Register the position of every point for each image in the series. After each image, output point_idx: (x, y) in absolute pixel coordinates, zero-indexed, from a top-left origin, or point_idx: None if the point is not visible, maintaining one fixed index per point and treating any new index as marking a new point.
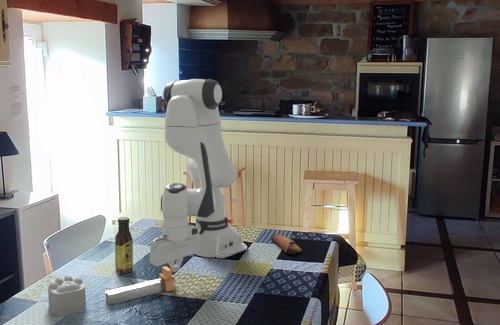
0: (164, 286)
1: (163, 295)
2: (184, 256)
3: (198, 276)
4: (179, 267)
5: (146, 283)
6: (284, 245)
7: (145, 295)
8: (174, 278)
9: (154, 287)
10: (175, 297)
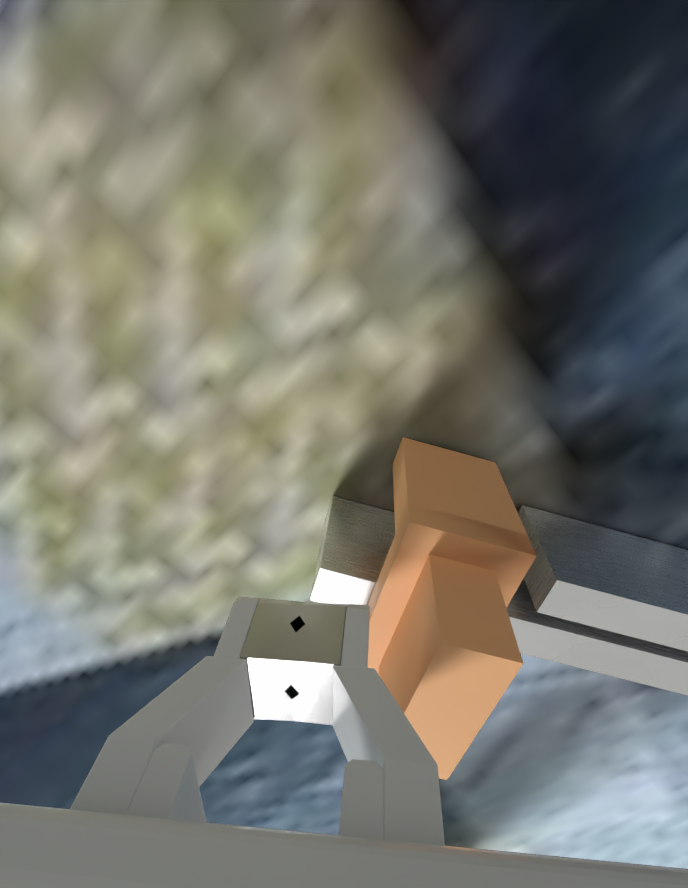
0: None
1: (571, 434)
2: (28, 813)
3: (8, 478)
4: (241, 628)
5: (677, 658)
6: None
7: (683, 549)
8: (410, 512)
9: (617, 566)
10: (541, 297)
